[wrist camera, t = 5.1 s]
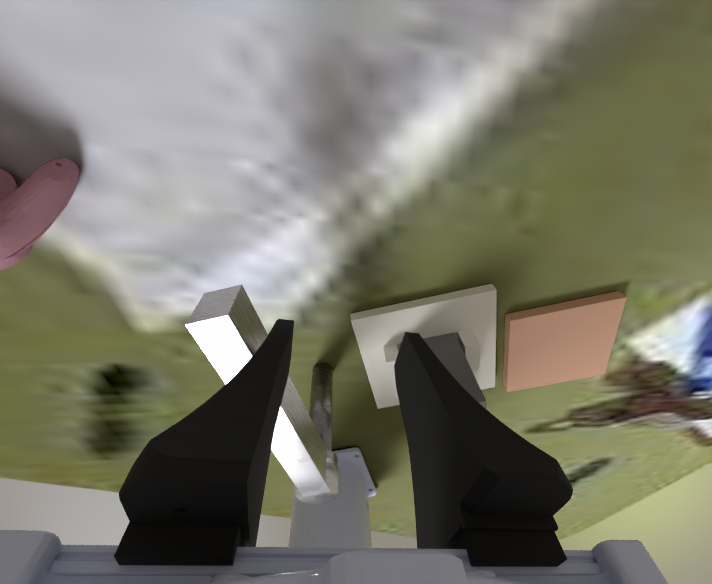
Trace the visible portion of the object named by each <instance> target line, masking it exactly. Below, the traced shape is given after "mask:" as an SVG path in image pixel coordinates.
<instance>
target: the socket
mask: <svg viewBox="0 0 712 584" xmlns="http://www.w3.org/2000/svg"><path fill="white" fill-rule="evenodd" d="M496 300H497V290H496V288H495V287H494V286H493V284H488V285H483V286H478V287H474V288H469V289H464V290H459V291H455V292H450V293H445V294H441V295H436V296H431V297H427V298H422V299H417V300H413V301H408V302H403V303H399V304H394V305H389V306H385V307H380V308H375V309H371V310H366V311H361V312H356V313H352V314H351V323H352V326H353V329H354V333H355V336H356V339H357V342H358V346H359V349H360V352H361V356H362V359H363V362H364V365H365V369H366V372H367V375H368V378H369V382H370V385H371V388H372V391H373V395H374V398H375V401H376V404H377V408H378V409H380V408H385V407H391V406H396V405H400V403H399V399H398V394H397V389H396V382H395V370H394V364H395V361H396V358H397V355H398V352H399V349H400V343H402V340H403V337H404V334H405V332H411V333H419V334H420V336H421V337H422V338H423V339H424V338H429V337H434V336H439V335H444V334H448V333H453V332H454V333H455V335H456V337H457V339H458V341H459V344H460V346H461V348H462V350H463V352H464V354H465V357H466V359H467V361H468V363H469V365H470V367H471V370H472V372H473V374H474V376H475V378H476V380H477V383H478V385H479V387H480V389H481V390H482V389H487V388H492V387H495V361H496ZM332 382H333V369H332V367H331V366H330V365H328V364H323V363H322V364H317V365H316V366H314V368H313V373H312V385H311V397H310V409H309V416H310V418H311V419H312V421H313V423H314V425H315V427H316V429H317V431H318V433H319V435H320V437H321V439H322V441H323V443H324V445H325V447H326V449H328V450H331V451H332Z"/></svg>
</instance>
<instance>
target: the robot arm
mask: <svg viewBox="0 0 712 584" xmlns="http://www.w3.org/2000/svg"><path fill="white" fill-rule="evenodd" d="M293 326H294V321H293V320H283V319H278V320H277V321H276V322H275V324H274V326H273V328H272V330H271V331H270V333H269V334H268V336H267V337H266V339H265V340H264V342H263V343H262V344H261V346H260V347H259V348H258V350H257V351H256V352H255V353H254V355H253V356H252V357H251V358H250V359H249V361H248V362H247V363H246V364H245V365H244V366H243V367H242V369H241V370H240V371H239V372H238V373H237V374H236V375H235V376H234V377H233V378H232V379H231V380H230V381H229V382H228V383H227V384H226V385H225V386H223V387H222V388H221V389H220V390H219V391H218V392H217V393H216V394H214V395H213V396H212V397H211V398H210V399H209V400H207V401H206V402H205V403H204V404H202V405H201V406H200V407H198V408H197V409H196V410H194V411H193V412H192V413H190V414H189V415H188V416H186V417H185V418H184V419H182V420H181V421H179V422H178V423H176V424H175V425H173V426H172V427H170V428H168V429H167V430H165V431H164V432H162V433H161V434H159V435H158V436H156V437H154V438H153V439H151V440H150V441H149V443H148V444H147V445H146V447H145V448H144V449H143V451H142V452H141V454H140V455H139V457H138V458H137V460H136V461H135V463H134V465H133V466H132V468H131V470H130V472H129V474H128V476H127V478H126V480H125V482H124V484H123V486H122V488H121V490H120V492H119V497H120V501H121V503H122V505H123V507H124V510H125V512H126V514H127V516H128V518H129V520H130V522H129V525H128V527H127V529H126V531H125V533H124V535H123V537H122V539H121V542H120V544H119V545H118V546H117V545H116V546H114V545H113V546H112V545H62V544H61V542H60V539H59V538H58V536H56V535H55V534H53V533H50V532H46V531H21V530H19V531H18V530H0V584H668V582H667V581H666V579H665V578H664V576H663V575H662V573H661V572H660V570H659V569H658V567H657V565H656V564H655V562H654V561H653V559H652V558H651V557H650V555H649V553H648V552H647V550H646V549H645V547H644V546H643V544H642V542H640V541H638V540H607V541H603V542H601V543H599V544H597V545H596V546H595V547H594V548H593V549H592V551H585V550H579V551H577V550H563V549H562V547H561V545H560V543H559V540H558V538H557V536H556V534H555V532H554V531H557V530H558V526H557V524H556V522H555V519H554V517H553V515H554V514H555V513H556V512H557V511H559V510H560V509H561V508H562V507H563V506H564V505H565V504H566V503H567V502H568V501H569V500H570V498H571V496H572V493H573V489H572V486H571V484H570V482H569V480H568V479H567V477H566V475H565V473H564V472H563V470H562V468H561V466H560V465H559V463H558V462H557V460H556V459H554V458H553V457H551V456H550V455H548V454H547V453H545V452H543V451H542V450H540V449H539V448H537V447H535V446H534V445H532V444H531V443H529V442H528V441H526V440H525V439H524V438H522V437H521V436H519V435H518V434H517V433H515V432H514V431H512V430H511V429H510V428H508V427H507V426H506V425H504V424H503V423H502V422H501V421H499V420H498V419H497V418H496V417H495V416H493V415H492V414H491V413H490V412H489V411H487V410H486V409H485V408H484V407H483V406H482V405H481V404H480V403H479V402H477V401H476V400H475V399H474V398H473V397H472V396H471V395H470V394H469V393H468V392H467V391H466V390H465V389H464V388H463V387H462V386H461V385H460V384H459V382H458V381H457V380H456V379H455V378H454V377H453V376H452V375H451V373H450V372H449V371H448V370H447V369H446V368H445V366H444V365H443V364H442V363H441V361H440V360H439V359H438V358H437V356H436V355H435V354H434V353H433V351H432V350H431V349H430V347H429V346H428V345H427V343H426V342H425V341H424V339H423V338H422V337H421V336H420V334H419V333H411V332H405V334H404V337H403V340H402V343H401V346H400V349H399V352H398V355H397V358H396V361H395V364H394V370H395V382H396V389H397V394H398V399H399V403H400V408H401V412H402V417H403V421H404V426H405V430H406V434H407V440H408V446H409V454H410V462H411V471H412V481H413V491H414V504H415V516H416V532H417V549H401V548H400V549H399V548H396V549H395V548H372V543H371V529H370V516H369V503H368V497H370V496H375V495H376V488H375V486H374V484H373V481H372V479H371V476H370V474H369V471H368V469H367V466H366V464H365V461H364V459H363V456H362V454H361V451H360V449H359V448H356V447H355V448H349V449H343V450H338V451H333V452H334V453H335V454H336V455H337V457H338V495H337V497H336V498H335V499H334V500H332V501H330V502H327V503H322V504H310V503H305V502H302V501H300V500H299V499H298V498H297V497H296V495H295V492H296V485H295V489H294V499H293V508H292V518H291V528H290V538H289V547H256V540H257V533H258V527H259V520H260V514H261V508H262V501H263V495H264V489H265V482H266V476H267V470H268V464H269V457H270V451H271V445H272V439H273V434H274V430H275V425H276V422H277V418H278V414H279V410H280V406H281V403H282V399H283V395H284V391H285V387H286V383H287V379H288V373H289V367H290V360H291V350H292V338H293ZM285 471H286V470H285ZM287 474H288V473H287ZM289 477H290V476H289Z"/></svg>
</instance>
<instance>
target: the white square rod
mask: <svg viewBox="0 0 712 584" xmlns="http://www.w3.org/2000/svg"><path fill="white" fill-rule="evenodd" d="M185 326H186V327H187V328H188V330H189V331H190V333H191V334H192V336H193V337H194V339H195V340H196V342H197V343H198V344H199V346H200V347H201V349H202V350H203V352H204V353H205V355H206V356H207V357H208V359H209V360H210V362H211V363H212V365H213V366H214V368H215V369H216V371H217V372H218V373H219V375H220V376H221V378H222V379H223V381H224V382H225V384H227V383H228V382H229V381H230V380H231V379H232V378H233V377H234V376H235V375H236V374H237V373H238V372H239V371H240V370H241V369H242V367H243V366H244V365H245V364H246V363H247V362H248V361H249V359H250V358H251V357H252V356H253V355H254V353H255V352H256V351H257V350H258V348H259V347H260V346H261V344H262V343H263V342H264V340H265V339H266V337H267V336H268V334H267V332H266V330H265V328H264V326H263V325H262V323H261V321H260V319H259V317H258V315H257V313H256V311H255V309H254V307H253V305H252V303H251V301H250V299H249V297H248V295H247V293H246V292H245V290H244V288H243V286H242V285H238V286H234V287H230V288H225V289H221V290H217V291H213V292H208V293H204V295H203V297H202V298H201V300H200V302H199V303H198V305H197V306H196V308H195V310H194V311H193V313H192V315H191V316H190V318H189V319H188V321H187V323H186V324H185ZM271 450H272V452H273V453H274V455H275V456H276V457H277V459H278V460H279V462H280V463H281V465H282V466H283V468H284V469H285V470H286V472H287V473H288V475H289V476H290V478H291V479H292V481H293V482H294V484H295V485H296V492H295V495H296V497H297V498H298V499H299V500H300V501H302V502H305V503H310V504H322V503H327V502H330V501H332V500H334V499H335V498H336V497H337V495H338V457H337V455H336V454H335V453H334V452H333V451H331V450H328V449H326V447H325V445H324V443H323V441H322V439H321V437H320V435H319V433H318V431H317V429H316V427H315V425H314V423H313V421H312V419H311V418H310V416H309V414H308V412H307V410H306V408H305V406H304V404H303V402H302V400H301V398H300V396H299V394H298V392H297V390H296V388H295V387H294V385H293V383H292V381H291V379H290V377H289V375H288V379H287V383H286V387H285V391H284V395H283V399H282V403H281V406H280V410H279V414H278V418H277V422H276V425H275V430H274V434H273V439H272V445H271Z"/></svg>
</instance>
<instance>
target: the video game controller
mask: <svg viewBox="0 0 712 584" xmlns="http://www.w3.org/2000/svg"><path fill="white" fill-rule="evenodd" d="M79 174H80V171H79V168H78V166H77V165H76V164H75V162H73V161H72V160H70V159H68V158H60V159H55V160H52V161H50V162H48V163H46V164H44V165H42V166H40V167H38V168H37V169H36V170H35V171H34V172H33V173H32V174H31V175H30V176H29V177H28V179H27V180H26V181H25V182H24V183H23V184H22V185H21V186H20V187H19V188H18V187H17V185H16V182H15V180H14V178H13V177H12V176H11V175H10V174H9V173H8V172H6V171H5V170H3V169H1V168H0V270H1V269H5V268H8V267H11V266H13V265H15V264H17V263H18V262H20V261H21V260H23V259H24V258H25V257H26V256H27V255H28V254H29V252H30V250H31V249H32V245H33V243H34V242H36V241H37V240H38V239H39V238H40V237H41V236H42V235H43V234H44V233H45V232H46V231H47V230H48V228H49V227H50V226H51V225H52V224H53V222H54V221H55V220H56V219H57V217H58V216H59V215H60V213H61V212H62V211H63V210H64V208H65V207H66V206H67V204H68V202H69V200H70V199H71V197H72V195H73V193H74V191H75V189H76V186H77V184H78V180H79Z"/></svg>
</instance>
